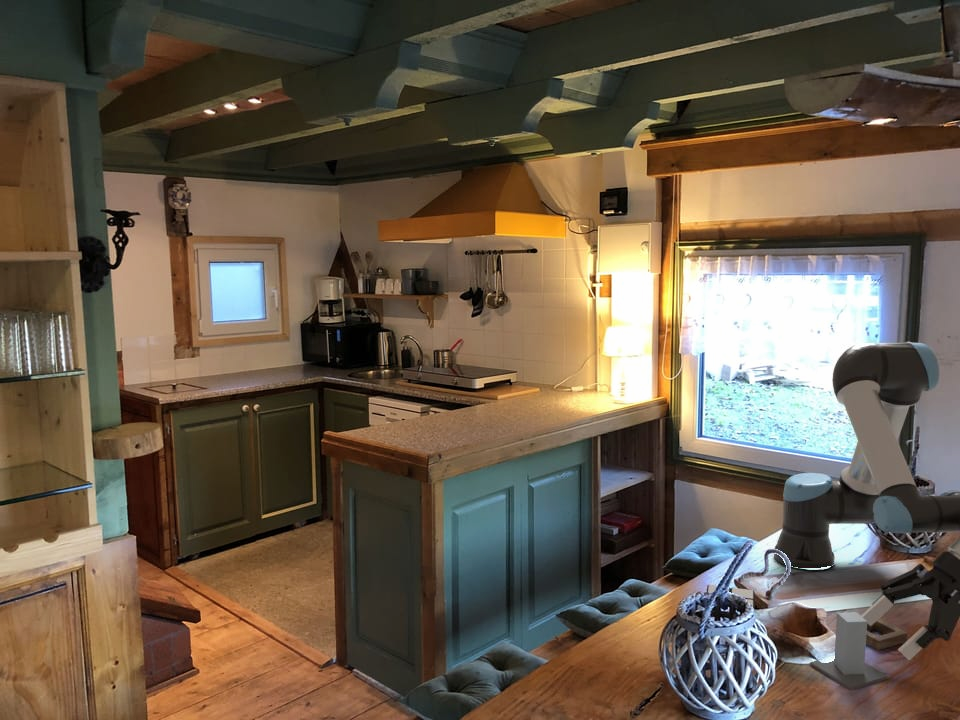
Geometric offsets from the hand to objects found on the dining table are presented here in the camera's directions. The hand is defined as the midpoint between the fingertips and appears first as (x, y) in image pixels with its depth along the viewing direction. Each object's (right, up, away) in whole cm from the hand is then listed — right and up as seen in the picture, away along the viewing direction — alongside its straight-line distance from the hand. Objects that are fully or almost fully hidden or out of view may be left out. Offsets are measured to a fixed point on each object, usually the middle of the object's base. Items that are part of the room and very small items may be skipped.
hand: (883, 637), depth 155 cm
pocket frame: (+6, -5, +15) cm, 16 cm away
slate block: (-7, -6, +1) cm, 9 cm away
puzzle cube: (-26, -6, +14) cm, 30 cm away
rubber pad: (-7, -7, +1) cm, 10 cm away
